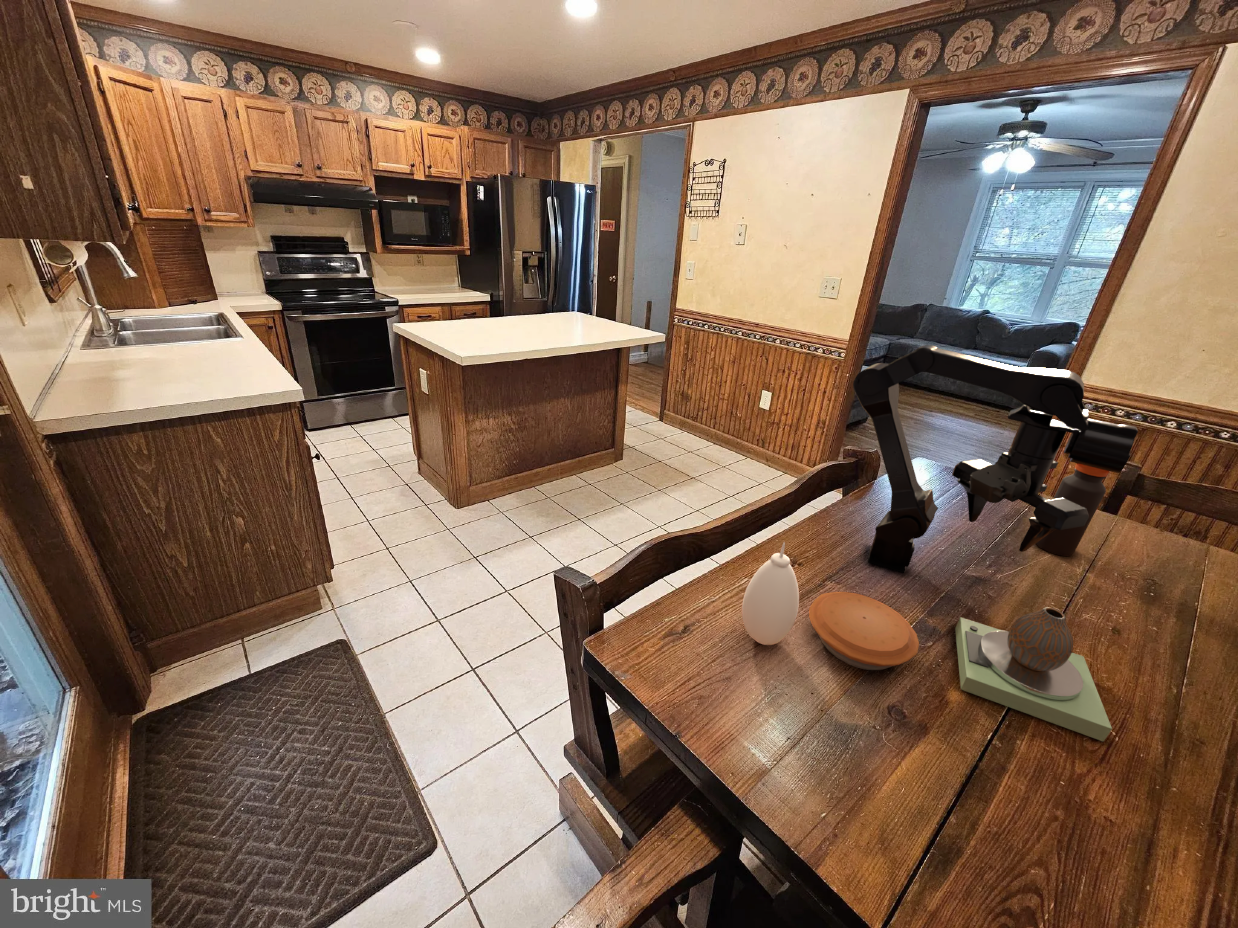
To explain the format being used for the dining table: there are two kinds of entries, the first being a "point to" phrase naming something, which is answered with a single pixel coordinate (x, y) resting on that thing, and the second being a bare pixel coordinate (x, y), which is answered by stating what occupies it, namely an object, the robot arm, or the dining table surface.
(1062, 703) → the scale
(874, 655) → the pie
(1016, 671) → the scale pan
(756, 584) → the sauce bottle
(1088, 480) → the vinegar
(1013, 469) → the robot arm
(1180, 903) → the dining table surface
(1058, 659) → the vase
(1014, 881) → the dining table surface
